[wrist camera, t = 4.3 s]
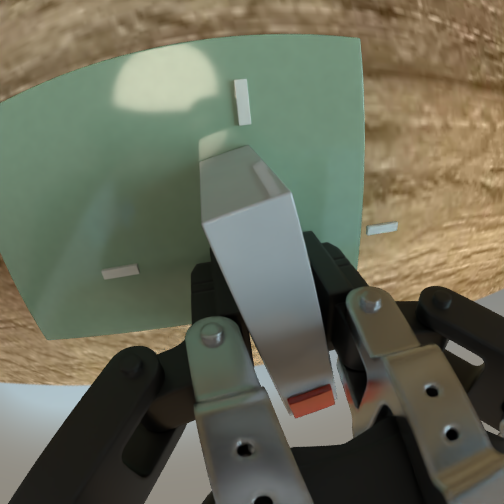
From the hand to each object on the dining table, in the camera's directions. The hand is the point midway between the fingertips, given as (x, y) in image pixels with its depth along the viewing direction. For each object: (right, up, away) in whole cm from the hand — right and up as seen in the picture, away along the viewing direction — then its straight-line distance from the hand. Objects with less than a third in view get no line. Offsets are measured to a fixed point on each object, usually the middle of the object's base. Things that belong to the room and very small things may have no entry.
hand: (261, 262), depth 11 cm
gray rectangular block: (0, 0, 0) cm, 1 cm away
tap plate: (-3, +2, +2) cm, 4 cm away
